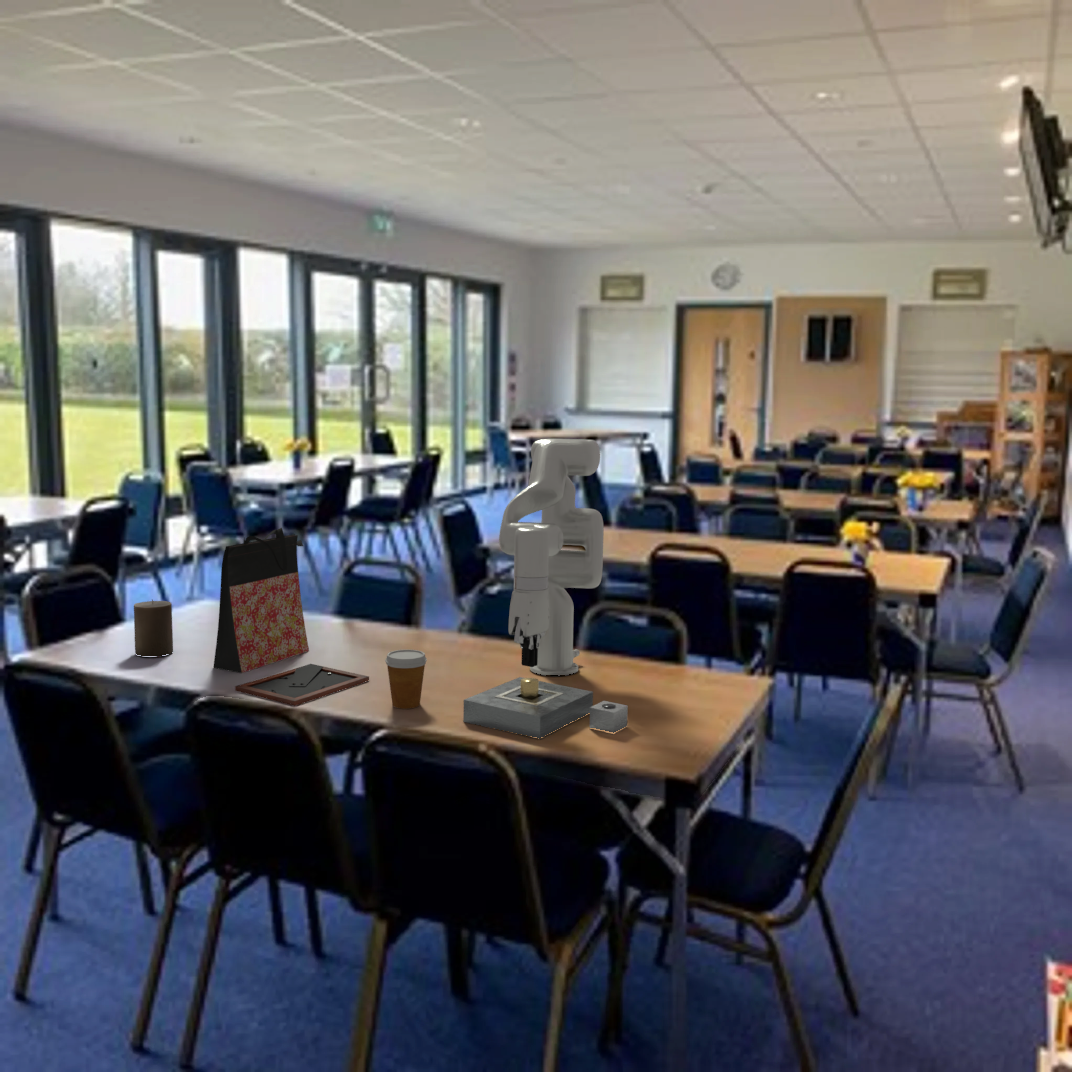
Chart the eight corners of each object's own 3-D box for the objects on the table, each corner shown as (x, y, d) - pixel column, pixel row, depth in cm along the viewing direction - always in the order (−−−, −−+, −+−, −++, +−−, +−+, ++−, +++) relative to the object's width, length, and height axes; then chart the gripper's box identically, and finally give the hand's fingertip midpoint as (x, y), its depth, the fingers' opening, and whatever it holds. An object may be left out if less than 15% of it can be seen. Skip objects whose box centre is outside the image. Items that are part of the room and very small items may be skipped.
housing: (603, 722, 230) (603, 700, 230) (627, 727, 227) (627, 704, 226) (589, 729, 225) (589, 706, 225) (613, 735, 222) (614, 711, 221)
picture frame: (311, 670, 270) (235, 693, 249) (311, 662, 269) (234, 685, 249) (369, 683, 259) (294, 708, 238) (369, 675, 259) (294, 700, 238)
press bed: (519, 697, 247) (519, 676, 246) (592, 713, 236) (593, 690, 236) (463, 721, 229) (463, 698, 228) (539, 739, 218) (540, 715, 217)
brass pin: (526, 697, 235) (527, 676, 234) (541, 700, 233) (542, 679, 232) (516, 701, 231) (517, 680, 231) (531, 705, 229) (532, 684, 229)
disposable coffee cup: (377, 704, 240) (376, 653, 238) (409, 696, 247) (409, 646, 245) (402, 714, 234) (402, 662, 232) (435, 705, 240) (435, 654, 238)
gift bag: (250, 674, 263) (246, 537, 257) (208, 667, 269) (204, 532, 264) (325, 649, 288) (323, 524, 283) (285, 643, 295) (283, 520, 290)
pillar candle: (165, 658, 276) (163, 603, 274) (128, 657, 276) (127, 602, 274) (178, 649, 286) (177, 596, 284) (143, 648, 286) (141, 595, 284)
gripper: (535, 577, 236) (533, 656, 239) (497, 586, 224) (496, 669, 226) (563, 581, 232) (561, 661, 235) (526, 590, 220) (524, 675, 222)
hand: (529, 665), depth 230 cm, fingers closed
